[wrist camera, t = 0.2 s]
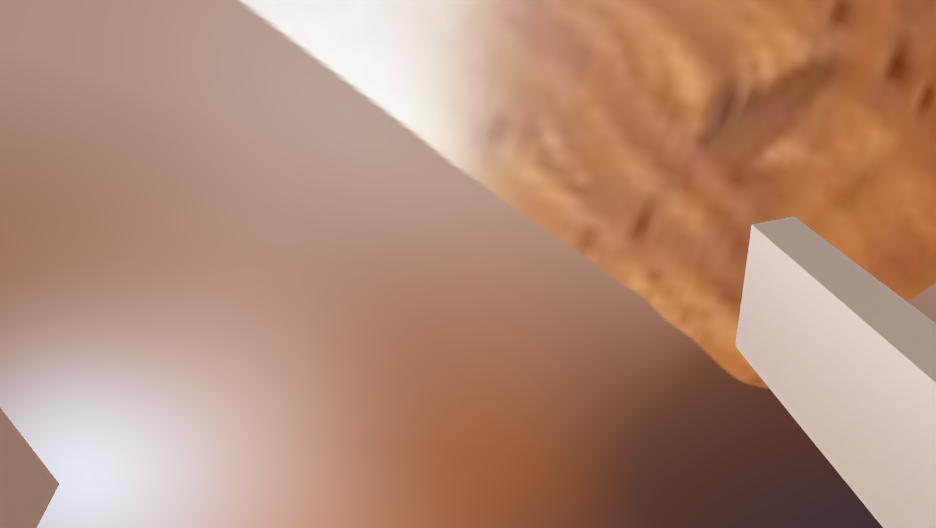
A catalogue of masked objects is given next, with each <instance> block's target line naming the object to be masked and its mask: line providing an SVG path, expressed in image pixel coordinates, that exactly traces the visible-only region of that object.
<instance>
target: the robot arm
mask: <svg viewBox="0 0 936 528" xmlns="http://www.w3.org/2000/svg"><path fill="white" fill-rule="evenodd" d="M735 346H736V348H737V349H738V350H739V351H740V353H741V354H742V355H743V356H744V358H745V359H746V360H747V361H748V362H749V364H750V365H751V366H752V367H753V369H754V370H755V371H756V372H757V373H758V375H759V376H760V377H761V378H762V380H763V381H764V382H765V383H766V385H767V386H768V387H769V388H770V389H771V391H772V392H773V393H774V394H775V395H776V397H777V398H778V399H779V400H780V402H781V403H782V404H783V405H784V407H785V408H786V409H787V410H788V412H789V413H790V414H791V415H792V416H793V418H794V419H795V420H796V421H797V423H798V424H799V425H800V426H801V427H802V429H803V430H804V431H805V432H806V434H807V435H808V436H809V437H810V439H811V440H812V441H813V442H814V443H815V445H816V446H817V447H818V448H819V450H820V451H821V452H822V453H823V454H824V456H825V457H826V458H827V459H828V461H829V462H830V463H831V464H832V466H833V467H834V468H835V469H836V470H837V471H838V473H839V474H840V475H841V477H842V478H843V479H844V480H845V481H846V483H847V484H848V485H849V486H850V487H851V489H852V490H853V491H854V492H855V494H856V495H857V496H858V497H859V499H860V500H861V501H862V502H863V504H864V505H865V506H866V507H867V508H868V510H869V511H870V512H871V513H872V515H873V516H874V517H875V518H876V520H877V521H878V522H879V523H880V524H881V526H882V527H883V528H936V323H935V322H933V321H932V320H931V319H929V318H928V317H927V316H925V315H924V314H923V313H921V312H920V311H919V310H917V309H916V308H915V307H913V306H912V305H911V304H909V303H908V302H907V301H905V300H904V299H903V298H902V297H900V296H899V295H898V294H896V293H895V292H894V291H892V290H891V289H890V288H888V287H887V286H886V285H884V284H883V283H882V282H880V281H879V280H878V279H876V278H875V277H874V276H872V275H871V274H870V273H868V272H867V271H866V270H864V269H863V268H862V267H861V266H859V265H858V264H857V263H855V262H854V261H853V260H851V259H850V258H849V257H847V256H846V255H845V254H843V253H842V252H841V251H839V250H838V249H837V248H835V247H834V246H833V245H831V244H830V243H829V242H827V241H826V240H825V239H823V238H822V237H821V236H819V235H818V234H817V233H816V232H814V231H813V230H812V229H810V228H809V227H808V226H806V225H805V224H804V223H802V222H801V221H800V220H798V219H797V218H796V217H788V218H783V219H778V220H773V221H768V222H762V223H757V224H752V227H751V235H750V242H749V249H748V257H747V264H746V271H745V279H744V286H743V293H742V301H741V308H740V315H739V323H738V330H737V337H736V345H735ZM58 485H59V483H58V482H57V481H56V479H55V478H54V477H53V475H52V474H51V473H50V471H49V470H48V469H47V468H46V466H45V465H44V464H43V463H42V461H41V460H40V459H39V457H38V456H37V455H36V453H35V452H34V451H33V450H32V448H31V447H30V446H29V444H28V443H27V442H26V440H25V439H24V438H23V437H22V435H21V434H20V433H19V432H18V430H17V429H16V428H15V426H14V425H13V424H12V422H11V421H10V420H9V419H8V417H7V416H6V415H5V413H4V412H3V411H2V409H1V408H0V528H37V525H38V524H39V522H40V520H41V518H42V516H43V514H44V512H45V510H46V508H47V506H48V504H49V502H50V501H51V499H52V497H53V495H54V493H55V491H56V489H57V487H58Z"/></svg>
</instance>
